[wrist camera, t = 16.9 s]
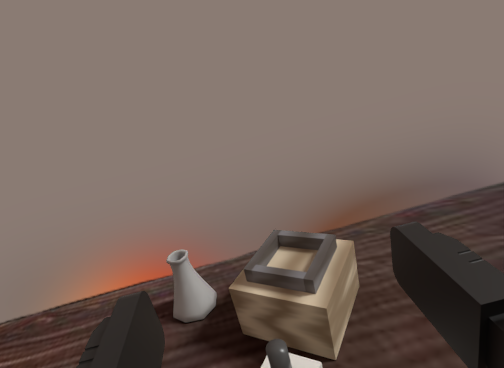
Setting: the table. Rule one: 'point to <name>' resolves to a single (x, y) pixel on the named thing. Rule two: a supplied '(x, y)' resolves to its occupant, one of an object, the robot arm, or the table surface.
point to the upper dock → (298, 291)
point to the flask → (189, 290)
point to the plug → (285, 357)
